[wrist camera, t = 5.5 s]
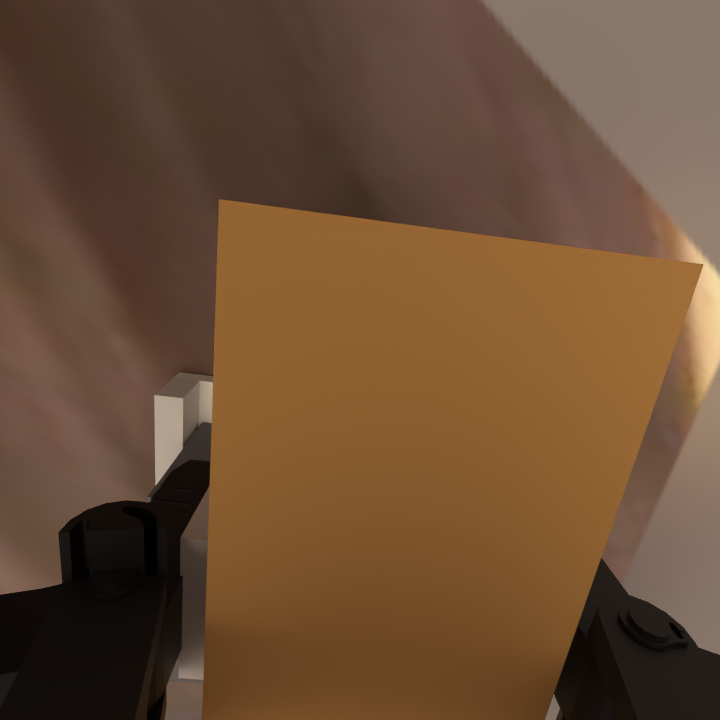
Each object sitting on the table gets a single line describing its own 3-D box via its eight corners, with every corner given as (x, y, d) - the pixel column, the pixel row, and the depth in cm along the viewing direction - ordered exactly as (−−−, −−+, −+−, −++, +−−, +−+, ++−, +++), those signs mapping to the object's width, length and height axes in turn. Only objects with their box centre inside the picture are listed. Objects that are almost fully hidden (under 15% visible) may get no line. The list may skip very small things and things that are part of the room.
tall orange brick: (308, 217, 12) (218, 198, 4) (476, 239, 12) (704, 264, 4) (276, 583, 15) (194, 954, 7) (405, 594, 15) (457, 968, 8)
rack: (179, 372, 28) (154, 395, 25) (481, 407, 29) (499, 434, 26) (178, 590, 34) (157, 634, 30) (432, 613, 35) (441, 658, 31)
